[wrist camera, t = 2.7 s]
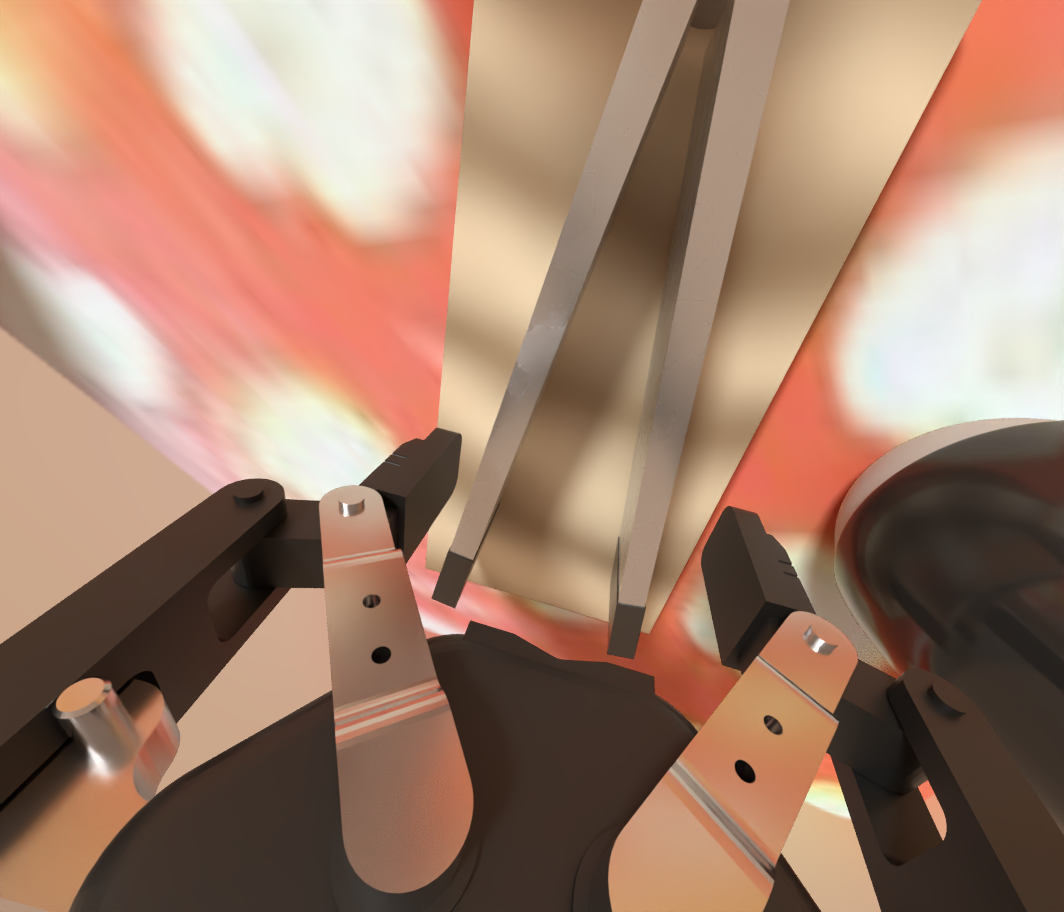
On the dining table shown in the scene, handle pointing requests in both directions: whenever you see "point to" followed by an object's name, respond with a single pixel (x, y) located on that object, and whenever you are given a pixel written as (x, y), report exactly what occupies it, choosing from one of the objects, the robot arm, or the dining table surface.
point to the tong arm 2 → (692, 288)
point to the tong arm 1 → (572, 266)
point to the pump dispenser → (970, 576)
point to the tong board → (652, 262)
